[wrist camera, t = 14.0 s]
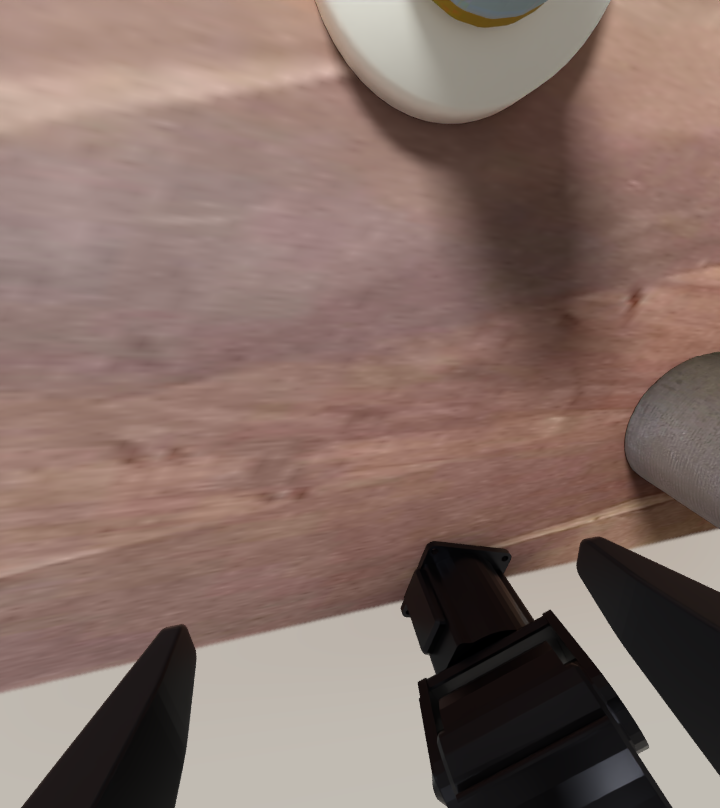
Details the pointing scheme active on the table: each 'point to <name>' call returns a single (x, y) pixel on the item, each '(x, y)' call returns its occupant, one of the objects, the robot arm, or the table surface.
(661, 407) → the pillar candle
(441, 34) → the round base
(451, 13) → the bottle
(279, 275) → the table surface
